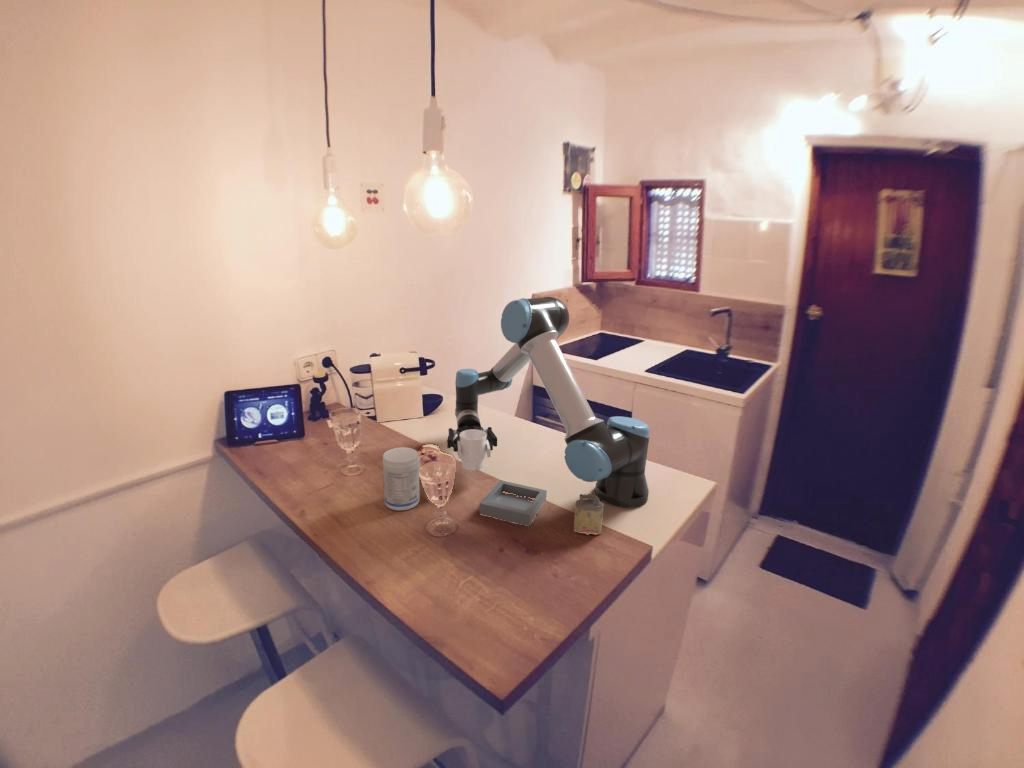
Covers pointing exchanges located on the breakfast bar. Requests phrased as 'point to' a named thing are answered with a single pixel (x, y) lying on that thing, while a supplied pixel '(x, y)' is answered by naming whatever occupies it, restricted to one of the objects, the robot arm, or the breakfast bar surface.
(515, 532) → the breakfast bar surface
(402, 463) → the supplement tub
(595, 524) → the lighter
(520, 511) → the slate coaster tray
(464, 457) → the white cup
